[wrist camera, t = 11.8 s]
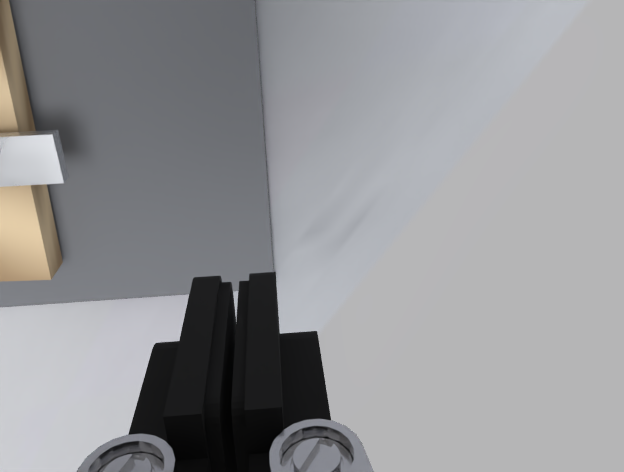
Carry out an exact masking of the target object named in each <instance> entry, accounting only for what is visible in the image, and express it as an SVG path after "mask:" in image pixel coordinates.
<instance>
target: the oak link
mask: <svg viewBox="0 0 624 472" xmlns="http://www.w3.org/2000/svg"><path fill="white" fill-rule="evenodd" d="M27 131H36V130H35V125H34V120H33V115H32V110H31V106H30V101H29V96H28V91H27V86H26V81H25V77H24V72H23V67H22V62H21V57H20V52H19V47H18V43H17V38H16V33H15V28H14V23H13V18H12V13H11V9H10V4H9V0H0V133H7V132H27ZM62 263H63V261H62V256H61V251H60V246H59V241H58V237H57V232H56V227H55V222H54V217H53V212H52V207H51V203H50V198H49V193H48V188H47V184H42V185H24V186H6V187H0V282H1V281H31V280H51V279H52V278H53V276H54V275H55V273H56V272H57V270H58V269H59V267H60V266H61V264H62Z"/></svg>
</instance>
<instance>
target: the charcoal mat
mask: <svg viewBox="0 0 624 472" xmlns="http://www.w3.org/2000/svg"><path fill="white" fill-rule="evenodd" d="M9 4H10V9H11V13H12V18H13V23H14V28H15V33H16V38H17V43H18V47H19V52H20V57H21V62H22V67H23V72H24V77H25V81H26V86H27V91H28V96H29V101H30V106H31V110H32V115H33V120H34V125H35V130H36V131H47V130H58V132H59V136H60V141H61V145H62V149H63V154H64V158H65V163H66V167H67V171H68V176H69V178H68V179H67V180H66V182H65V183H60V184H47V188H48V193H49V198H50V203H51V207H52V212H53V217H54V222H55V227H56V232H57V237H58V241H59V246H60V251H61V256H62V261H63V263H62V264H61V266H60V267H59V269H58V270H57V272H56V273H55V275H54V276H53V278H52V279H51V280H31V281H1V282H0V307H12V306H26V305H41V304H55V303H70V302H84V301H99V300H113V299H128V298H142V297H157V296H171V295H186V294H190V290H191V285H192V280H193V278H194V277H206V276H221V279H222V282H231V283H232V289H233V291H239V281H249V274H250V273H265V272H274V270H273V255H272V241H271V226H270V212H269V197H268V182H267V168H266V153H265V139H264V124H263V109H262V95H261V80H260V66H259V51H258V36H257V22H256V7H255V0H9Z"/></svg>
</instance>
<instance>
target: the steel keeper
mask: <svg viewBox="0 0 624 472" xmlns="http://www.w3.org/2000/svg"><path fill="white" fill-rule="evenodd" d="M68 178H69V176H68V171H67V167H66V163H65V158H64V154H63V149H62V145H61V141H60V136H59V132H58V130H47V131H27V132H7V133H0V187H6V186H24V185H42V184H60V183H65V182H66V180H67V179H68Z"/></svg>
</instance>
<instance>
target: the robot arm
mask: <svg viewBox="0 0 624 472" xmlns="http://www.w3.org/2000/svg"><path fill="white" fill-rule="evenodd" d="M77 472H374V471H373V469H372V466H371V464H370V462H369V459H368V457H367V455H366V452H365V449H364V447H363V445H362V443H361V441H360V440H359V438H358V437H357V435H356V434H355V433H354V432H353V431H351V430H350V429H349V428H348V427H346V426H345V425H342V424H340V423H337V422H335V421H331V417H330V411H329V404H328V398H327V392H326V385H325V379H324V372H323V366H322V360H321V354H320V347H319V341H318V335H317V331H311V332H298V333H284V334H280V332H279V317H278V302H277V287H276V273H275V272H265V273H250V274H249V281H239V292H238V307H237V322H236V317H235V307H234V298H233V289H232V283H231V282H222V279H221V276H206V277H194V278H193V280H192V285H191V290H190V294H189V299H188V304H187V308H186V313H185V317H184V322H183V327H182V331H181V336H180V341H176V342H162V343H156V344H155V345H154V347H153V349H152V353H151V356H150V360H149V363H148V367H147V371H146V374H145V378H144V381H143V385H142V388H141V392H140V395H139V399H138V402H137V406H136V410H135V413H134V417H133V420H132V424H131V427H130V431H129V434H128V435H125V436H122V437H119V438H116V439H113V440H111V441H109V442H107V443H105V444H103V445H101V446H100V447H98V448H97V449H96V450H95V451H93V452H92V453H91V454H90V455H89V456H87V458H86V459H85V460H84V462H83V463H82V464H81V466H80V467H79V468H78V470H77Z"/></svg>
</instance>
